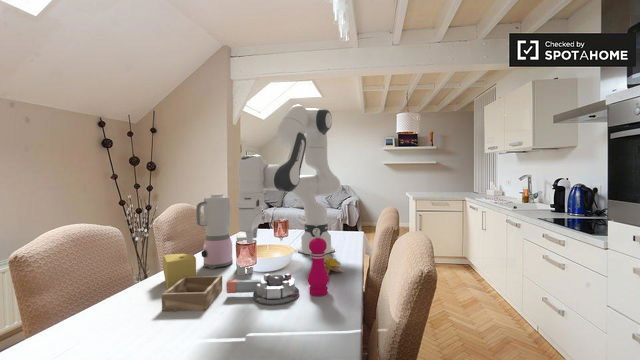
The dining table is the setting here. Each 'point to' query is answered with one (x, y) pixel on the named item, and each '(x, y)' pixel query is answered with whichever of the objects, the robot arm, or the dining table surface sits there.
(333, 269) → the decorative flower
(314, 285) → the pepper mill
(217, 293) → the square wooden frame
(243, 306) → the dining table surface
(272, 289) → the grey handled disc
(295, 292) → the domed metal lid
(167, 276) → the cheese
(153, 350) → the dining table surface
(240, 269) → the skincare box
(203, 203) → the blender
